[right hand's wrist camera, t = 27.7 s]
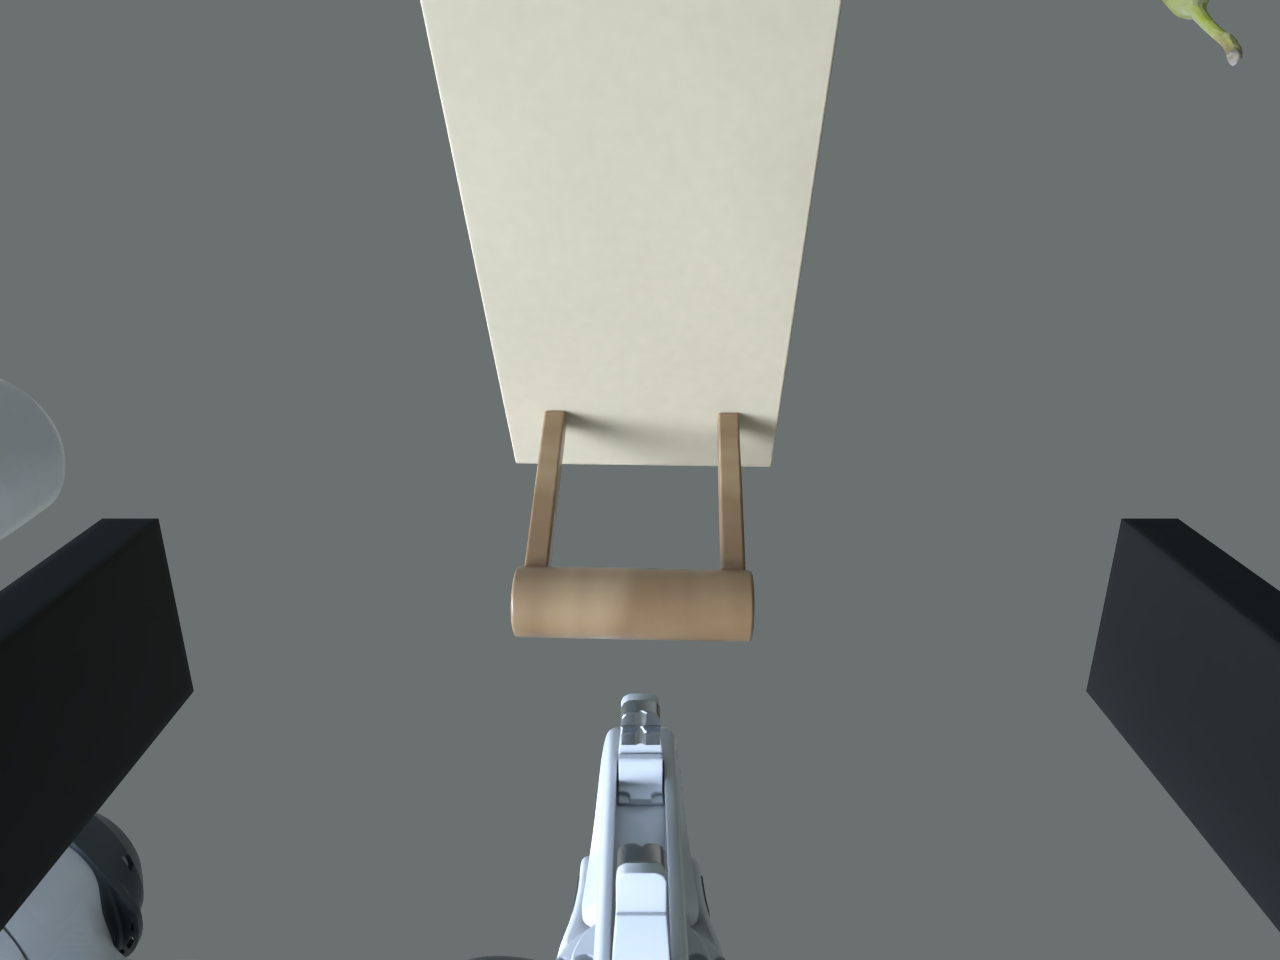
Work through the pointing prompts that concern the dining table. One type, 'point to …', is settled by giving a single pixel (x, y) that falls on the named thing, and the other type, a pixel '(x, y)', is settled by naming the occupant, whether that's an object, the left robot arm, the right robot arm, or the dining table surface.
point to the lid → (636, 259)
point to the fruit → (1207, 25)
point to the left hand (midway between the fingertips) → (641, 770)
